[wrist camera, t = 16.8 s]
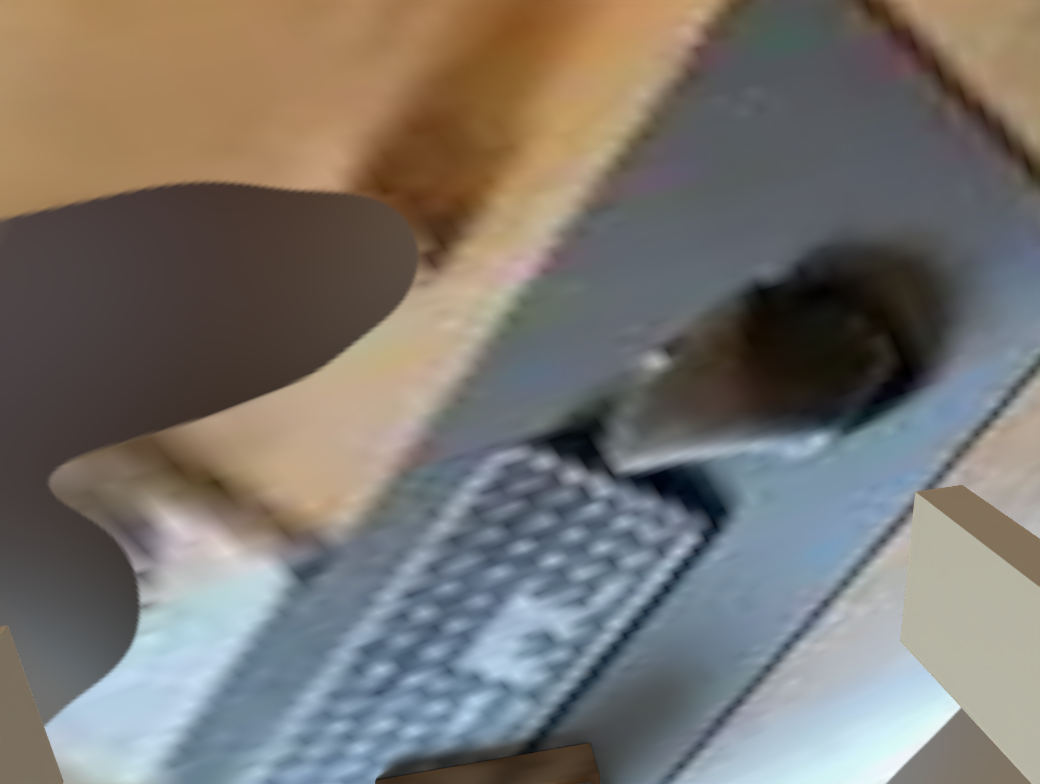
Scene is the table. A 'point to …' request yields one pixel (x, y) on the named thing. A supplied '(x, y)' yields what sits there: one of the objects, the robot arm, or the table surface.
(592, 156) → the table surface
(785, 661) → the table surface
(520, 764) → the stand
